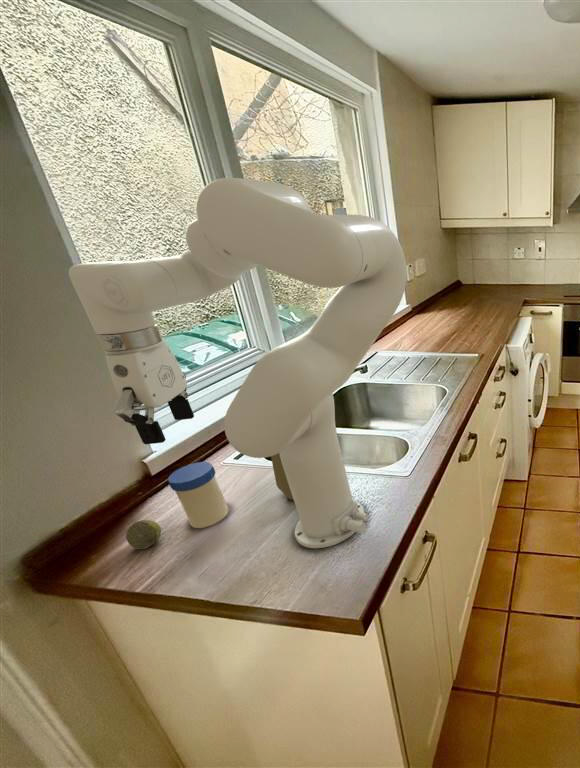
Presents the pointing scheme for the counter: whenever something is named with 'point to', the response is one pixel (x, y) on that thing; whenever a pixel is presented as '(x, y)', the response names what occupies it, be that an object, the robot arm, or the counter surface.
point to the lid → (191, 476)
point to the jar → (204, 504)
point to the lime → (143, 534)
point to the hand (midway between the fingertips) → (170, 429)
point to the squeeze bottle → (281, 476)
